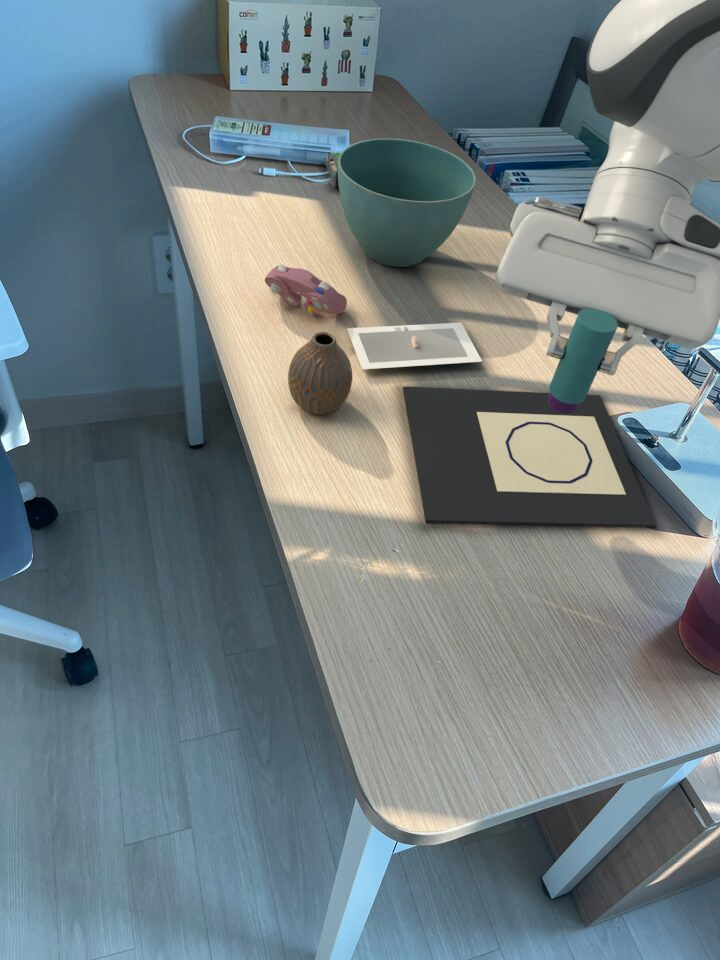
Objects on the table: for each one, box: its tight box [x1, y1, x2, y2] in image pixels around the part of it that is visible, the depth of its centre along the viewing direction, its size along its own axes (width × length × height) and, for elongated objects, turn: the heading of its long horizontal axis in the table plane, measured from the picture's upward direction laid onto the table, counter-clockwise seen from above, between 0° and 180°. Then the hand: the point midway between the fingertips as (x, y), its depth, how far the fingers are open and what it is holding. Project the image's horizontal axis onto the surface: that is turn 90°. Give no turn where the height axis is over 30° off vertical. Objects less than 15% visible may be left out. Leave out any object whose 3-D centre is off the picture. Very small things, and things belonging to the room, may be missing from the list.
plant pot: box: [338, 138, 477, 268], centre depth 103 cm, size 18×18×12 cm
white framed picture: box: [346, 322, 483, 370], centre depth 92 cm, size 8×15×2 cm, turn 104°
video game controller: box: [264, 263, 348, 316], centre depth 94 cm, size 10×5×7 cm, turn 62°
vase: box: [287, 331, 353, 415], centre depth 81 cm, size 7×7×9 cm
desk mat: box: [402, 386, 657, 528], centre depth 82 cm, size 24×20×1 cm
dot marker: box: [548, 308, 619, 414], centre depth 71 cm, size 4×4×10 cm
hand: (580, 364), depth 70 cm, fingers closed on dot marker, 3 cm apart
